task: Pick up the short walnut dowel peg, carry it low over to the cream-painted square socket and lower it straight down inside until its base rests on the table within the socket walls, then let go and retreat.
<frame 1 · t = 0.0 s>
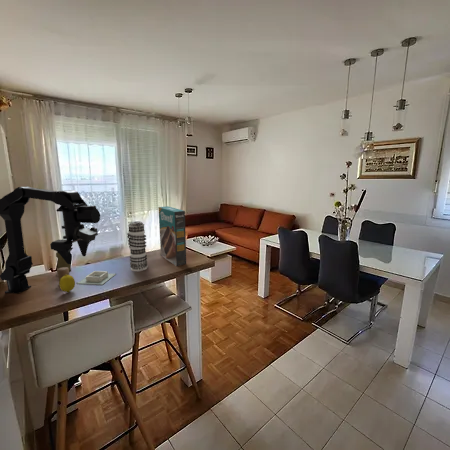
hand: (76, 259, 101), 15 cm above the breakfast bar, fingers open, 9 cm apart
decorative candle: (139, 268, 131), on the breakfast bar
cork: (64, 271, 127), on the breakfast bar
peg: (64, 283, 113), on the breakfast bar
lemon: (68, 292, 105), on the breakfast bar
cake mix box: (173, 259, 145), on the breakfast bar
socket: (97, 278, 118), on the breakfast bar
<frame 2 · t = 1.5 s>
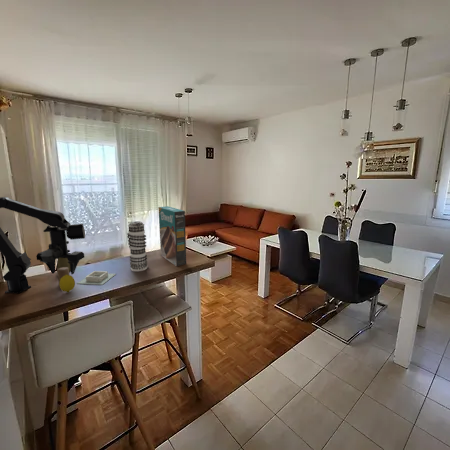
hand: (63, 273, 112), 5 cm above the breakfast bar, fingers open, 9 cm apart
nothing on the breakfast bar moved.
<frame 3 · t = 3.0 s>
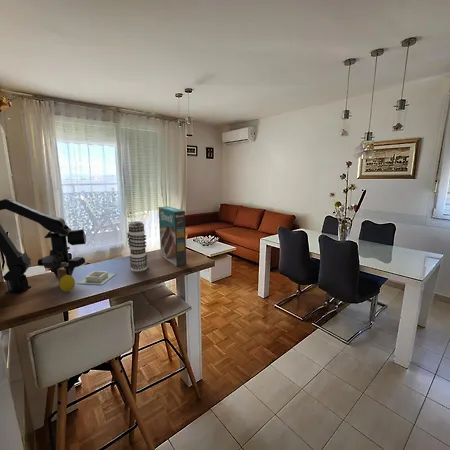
hand: (64, 279, 113), 2 cm above the breakfast bar, fingers closed on peg, 4 cm apart
peg: (64, 283, 113), on the breakfast bar, touching gripper
everything else where it was.
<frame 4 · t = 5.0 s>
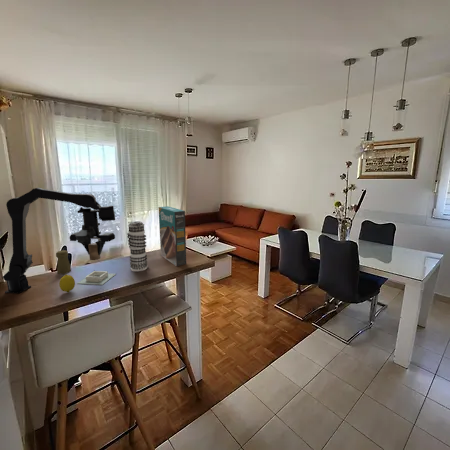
hand: (94, 254, 115), 12 cm above the breakfast bar, fingers closed on peg, 4 cm apart
peg: (95, 258, 116), point 10 cm above the breakfast bar, touching gripper
everything else where it was.
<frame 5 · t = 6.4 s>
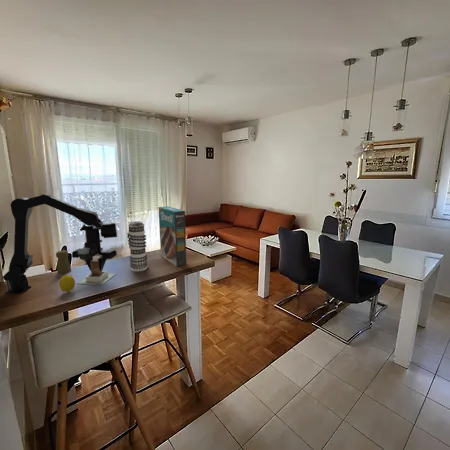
hand: (96, 270, 117), 4 cm above the breakfast bar, fingers closed on peg, 4 cm apart
peg: (96, 274, 117), point 2 cm above the breakfast bar, touching gripper
everything else where it was.
when the fingers open (3 cm above the breakfast bar, at t = 7.3 s): peg drops 1 cm, resting on socket.
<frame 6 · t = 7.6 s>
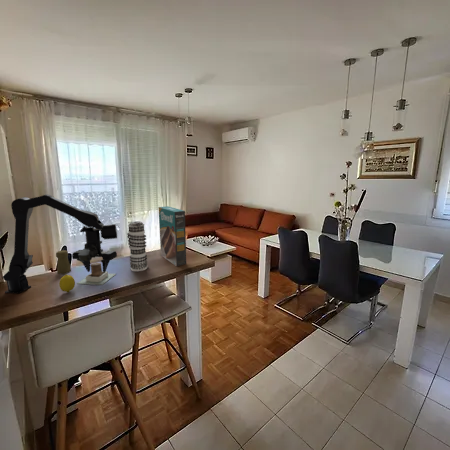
hand: (96, 272, 117), 3 cm above the breakfast bar, fingers open, 7 cm apart
peg: (97, 278, 118), resting on socket
everything else where it was.
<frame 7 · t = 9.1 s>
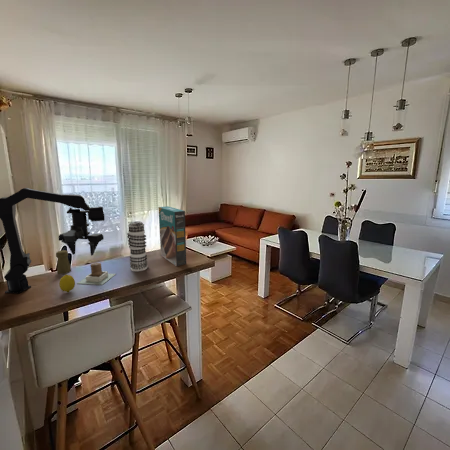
hand: (83, 254, 117), 12 cm above the breakfast bar, fingers open, 9 cm apart
nothing on the breakfast bar moved.
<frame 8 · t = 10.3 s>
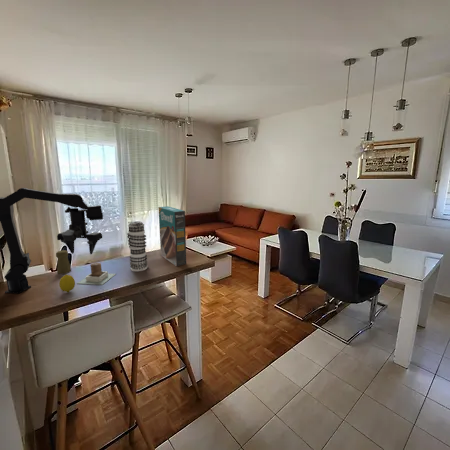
hand: (82, 253, 117), 12 cm above the breakfast bar, fingers open, 9 cm apart
nothing on the breakfast bar moved.
at the end: peg 0.0 cm off-centre on the socket, point 0.3 cm above the socket's base; peg tilted 1°; the gripper is holding nothing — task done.
